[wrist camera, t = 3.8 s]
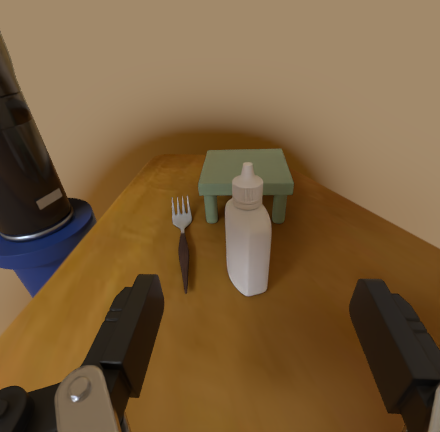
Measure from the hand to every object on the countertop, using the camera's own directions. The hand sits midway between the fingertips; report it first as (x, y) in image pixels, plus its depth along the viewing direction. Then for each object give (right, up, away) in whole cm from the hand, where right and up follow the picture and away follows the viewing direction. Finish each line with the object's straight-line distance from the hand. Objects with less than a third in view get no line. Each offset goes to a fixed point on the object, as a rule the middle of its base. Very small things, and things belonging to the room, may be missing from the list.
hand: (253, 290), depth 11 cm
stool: (+2, +5, +27) cm, 28 cm away
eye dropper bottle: (+1, -3, +16) cm, 16 cm away
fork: (-6, 0, +20) cm, 21 cm away
